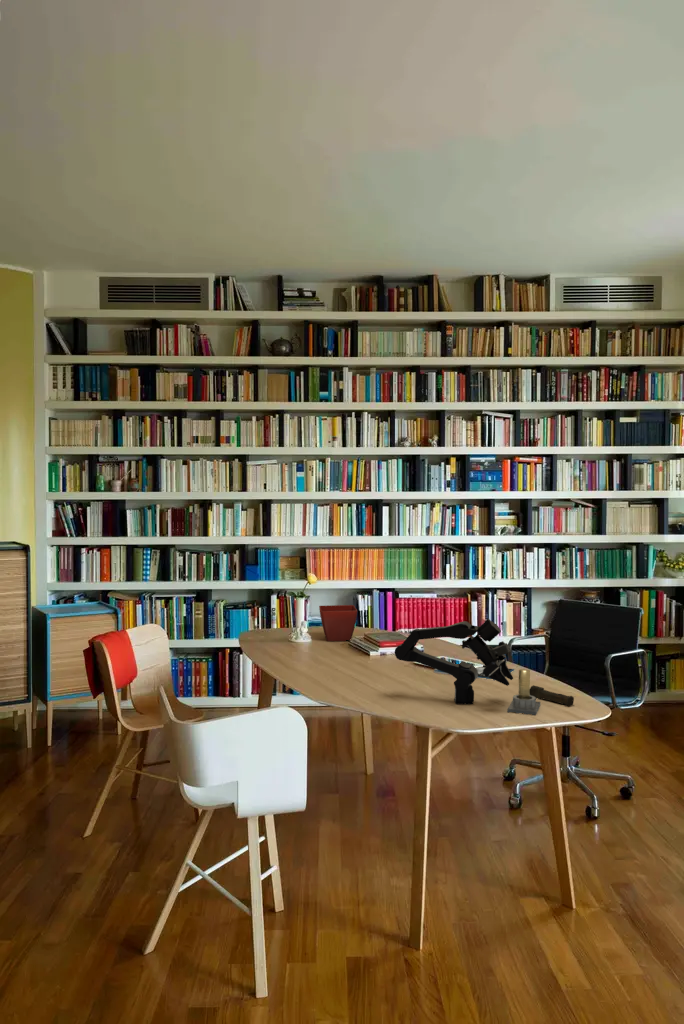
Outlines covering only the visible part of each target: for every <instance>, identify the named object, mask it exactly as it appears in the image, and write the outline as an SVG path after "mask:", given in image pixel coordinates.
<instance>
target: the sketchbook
mask: <svg viewBox="0 0 684 1024" xmlns="http://www.w3.org/2000/svg"><path fill="white" fill-rule="evenodd" d="M482 665H483V667H480V668H476V669H477V671H478V677H477V678H476V679H479V678H486V679H485V680H487V679H491V678H488V677H489V676H487V677H486V676H485V675H484V674H483V669H484V668H485V667H484V666H485V665H484V664H482ZM508 669H509V671H510V673H511V672H512V671H513V672H515V669H514V668H508ZM513 672H512V673H513ZM433 673H435V674H440V673H441V675H448V673H445V672H442V671H440V670H437V669H433ZM512 673H511V674H512ZM490 675H491V674H490ZM448 676H452V675H451V674H449V675H448ZM492 681H495V680H494V679H493V680H492Z"/></svg>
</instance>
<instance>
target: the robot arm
mask: <svg viewBox="0 0 684 1024" xmlns="http://www.w3.org/2000/svg"><path fill="white" fill-rule="evenodd" d="M501 632H502V630H501V628H500V626H499V625H498V624H497V623H495V622H494V621H493V620H490V618H487V619H486V620H485V621H484V622H483V623H482V624H481V625H480V626H478V625H474V624H471V623H470V622H469V621H465V620H463V621H460V622H456V623H454V624H451V625H447V626H436V627H426V628H414V629H413V630H412V631H411V632H410V633H409V635H408V636H407V637H406V639H404V641H403V642H402V643H401V644H399V645H397V646H396V647H395V648H394V656H395V658H396V659H397V660H399V661H403V662H407V663H408V662H410V663H418V664H421V665H423V666H426V667H429V668H431V669H433V670H435V669H437V670H440V671H442V672H445V673H448V674H451V675H450V676H452V677H453V678H455V681H454V682H453V685H454V698H453V701H454V703H455V704H456V705H474V701H475V690H474V689H473V685H472V684H474V682H475V681H476V679H478V678H477V677H478V671H477V669H476V668H475V667H474V666H472V665H473V664H474V663H471V664H468V662H466V661H464V660H462V661H460V662H461V663H460V664H454V663H451V662H452V661H451V662H449V661H450V660H449V661H448V660H446V659H442V658H440V657H438V656H434V655H432V654H429V653H426V652H423V651H421V650H420V649H418V648H417V647H416V645H417V643H418V642H419V641H420V640H429V639H430V640H431V639H440V638H451V639H459V640H462V641H461V644H462V646H461V648H462V649H465V648H466V647H468V648H469V649H470V650H471V652H472V653H474V655H475V656H476V659H477V660H478V661H481V663H482V665H485V666H484V667H485V668H484V669H483V674H484V675H485V676H486V677H487V676H489V677H488V678H491V679H494V680H493V681H495V680H496V682H498V683H500V684H501V685H505V686H507V687H508V686H510V682H509V680H510V681H512V680H514V677H513V674H512V673H510V671H509V669H510V668H509V667H508V666H507V660H508V658H507V656H506V655H507V654H510V652H511V650H510V647H509V646H510V645H509V644H508V643H507V642H504V641H499V642H498V646H497V645H496V647H495V646H494V647H493V646H492V645H488V644H487V643H486V642H489V643H490V642H491V641H492V640H494V639H495V638H496V637H497V636H498V635H500V633H501ZM476 633H477V634H476ZM475 634H476V635H475ZM465 639H466V640H465ZM448 674H447V675H448ZM490 674H491V675H490Z"/></svg>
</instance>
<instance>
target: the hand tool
mask: <svg viewBox="0 0 684 1024" xmlns="http://www.w3.org/2000/svg"><path fill="white" fill-rule="evenodd" d="M530 695H531V696H534V697H536V699H537V698H538V700H547V701H550V702H554V703H559V704H562V705H564V706H565V705H566V706H567V708H569V707H572V706H573V705H574V701H575V698H574V696H572V695H565V694H562V693H557V692H553V691H550V690H546V689H545V688H544V687H541V686H537V685H530Z"/></svg>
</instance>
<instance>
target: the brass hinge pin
mask: <svg viewBox="0 0 684 1024" xmlns="http://www.w3.org/2000/svg"><path fill="white" fill-rule="evenodd" d="M530 688H531V670H530V669H528V668H519V669H518V694H519V699H530Z"/></svg>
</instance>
